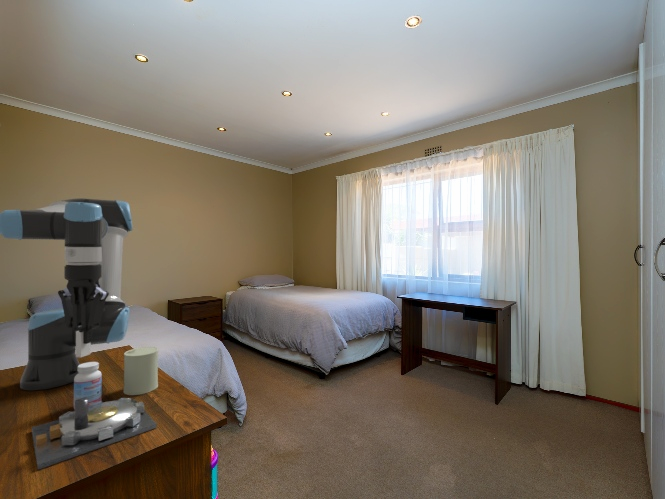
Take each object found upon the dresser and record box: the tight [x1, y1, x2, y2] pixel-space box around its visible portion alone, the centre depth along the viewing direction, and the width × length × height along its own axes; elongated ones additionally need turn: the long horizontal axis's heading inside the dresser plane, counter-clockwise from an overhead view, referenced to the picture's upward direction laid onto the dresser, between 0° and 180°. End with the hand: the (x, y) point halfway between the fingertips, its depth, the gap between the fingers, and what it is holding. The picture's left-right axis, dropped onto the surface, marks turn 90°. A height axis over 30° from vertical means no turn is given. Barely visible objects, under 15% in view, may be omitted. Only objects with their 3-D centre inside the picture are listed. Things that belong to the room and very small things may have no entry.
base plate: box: [31, 398, 158, 471], centre depth 76 cm, size 19×21×2 cm
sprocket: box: [50, 397, 145, 445], centre depth 77 cm, size 18×18×8 cm
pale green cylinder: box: [123, 346, 159, 396], centre depth 99 cm, size 9×9×12 cm
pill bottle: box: [73, 361, 103, 410], centre depth 88 cm, size 6×6×11 cm
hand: (83, 355), depth 83 cm, fingers closed
